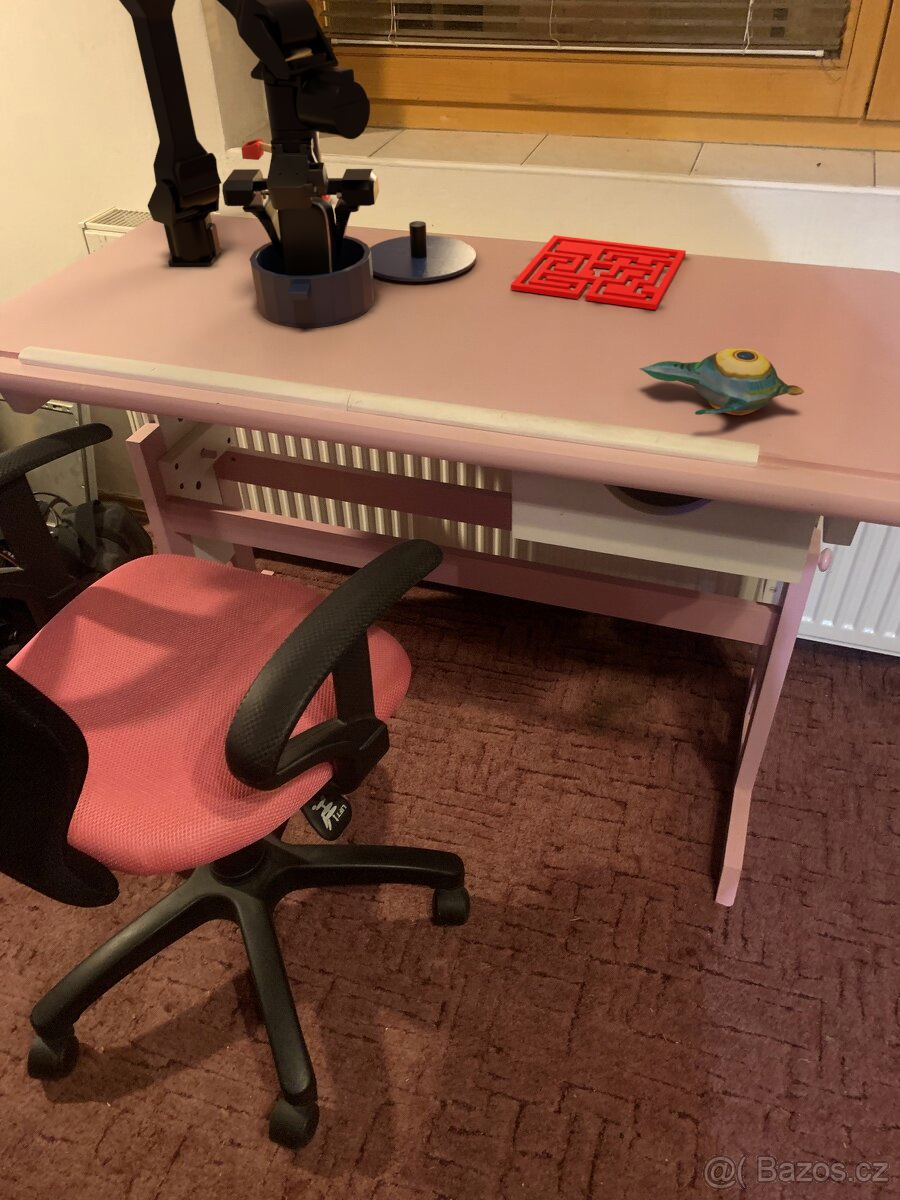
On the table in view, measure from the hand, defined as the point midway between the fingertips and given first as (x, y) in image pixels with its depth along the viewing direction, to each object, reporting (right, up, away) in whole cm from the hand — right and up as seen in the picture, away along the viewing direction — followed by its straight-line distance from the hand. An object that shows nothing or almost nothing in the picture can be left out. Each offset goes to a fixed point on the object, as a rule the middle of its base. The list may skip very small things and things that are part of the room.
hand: (310, 256), depth 115 cm
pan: (0, -5, +4) cm, 6 cm away
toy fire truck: (-9, +23, +35) cm, 43 cm away
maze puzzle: (+40, +1, +10) cm, 41 cm away
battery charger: (0, -3, +3) cm, 4 cm away
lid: (+14, +5, +13) cm, 20 cm away
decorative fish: (+47, -24, -19) cm, 56 cm away
